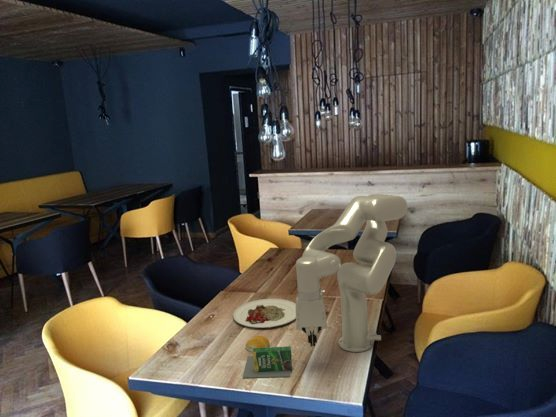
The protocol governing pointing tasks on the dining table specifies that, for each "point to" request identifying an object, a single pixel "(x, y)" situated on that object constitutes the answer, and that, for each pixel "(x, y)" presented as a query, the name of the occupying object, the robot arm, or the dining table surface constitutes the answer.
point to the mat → (251, 373)
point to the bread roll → (257, 343)
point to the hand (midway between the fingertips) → (312, 344)
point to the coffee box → (272, 359)
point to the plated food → (265, 313)
